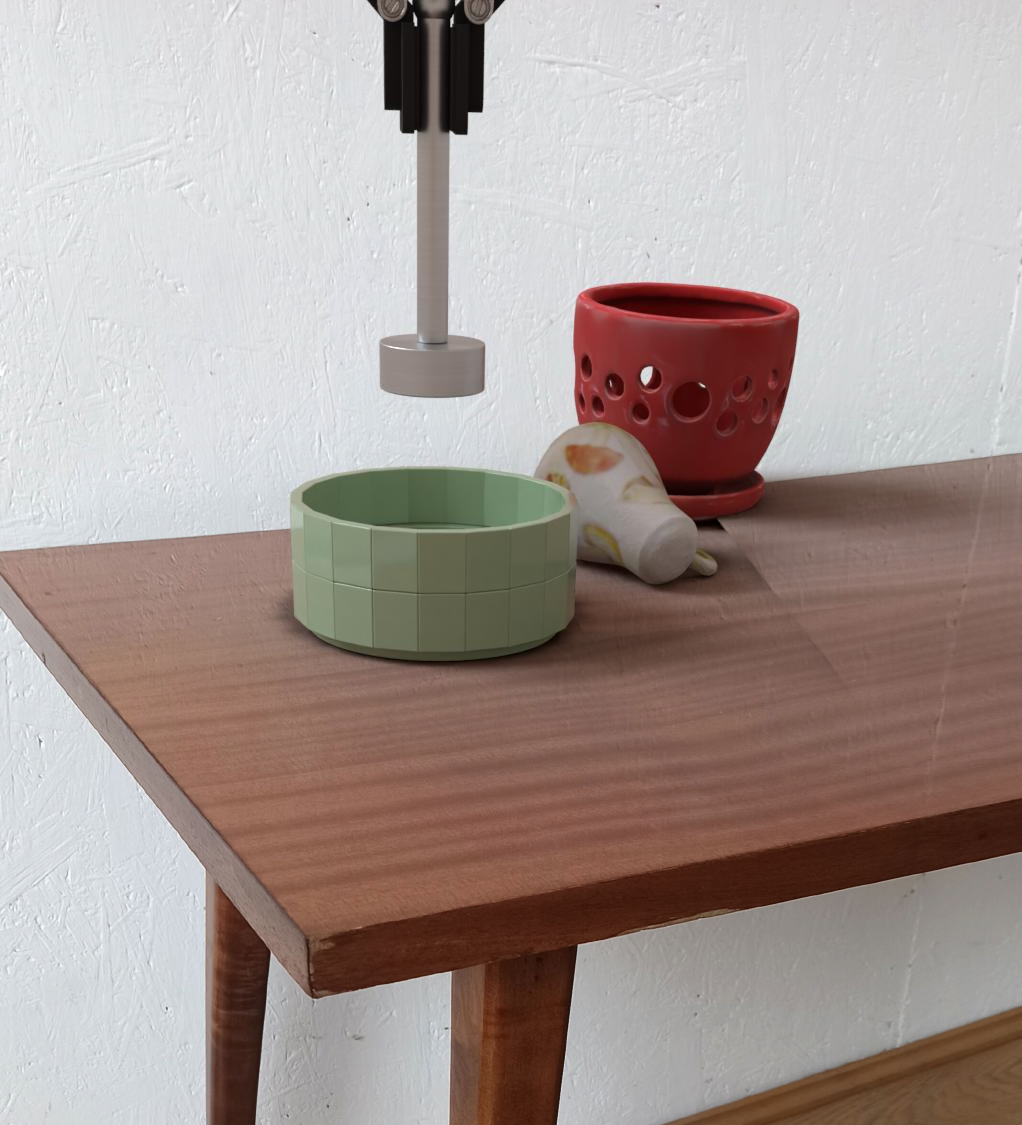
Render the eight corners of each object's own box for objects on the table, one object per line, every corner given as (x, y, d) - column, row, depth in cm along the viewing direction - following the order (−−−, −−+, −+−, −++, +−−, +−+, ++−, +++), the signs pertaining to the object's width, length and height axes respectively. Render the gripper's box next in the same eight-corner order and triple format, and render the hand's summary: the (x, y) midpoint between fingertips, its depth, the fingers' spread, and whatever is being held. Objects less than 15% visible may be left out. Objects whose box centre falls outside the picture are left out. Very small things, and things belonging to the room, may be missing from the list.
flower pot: (537, 520, 105) (544, 301, 99) (603, 476, 116) (613, 275, 109) (752, 544, 101) (773, 317, 95) (799, 496, 112) (821, 290, 106)
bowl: (555, 584, 93) (559, 466, 90) (588, 664, 82) (594, 532, 78) (296, 585, 92) (291, 465, 89) (293, 666, 80) (287, 532, 77)
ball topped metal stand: (480, 380, 83) (487, -21, 75) (488, 399, 79) (497, -23, 71) (378, 378, 83) (373, -25, 74) (381, 397, 78) (376, -27, 70)
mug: (640, 607, 90) (562, 418, 88) (563, 642, 99) (491, 471, 97) (755, 554, 93) (682, 368, 90) (670, 593, 102) (602, 425, 99)
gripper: (219, -466, 62) (246, 132, 71) (658, -441, 63) (626, 142, 73) (228, -421, 68) (252, 123, 78) (627, -399, 70) (602, 132, 79)
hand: (433, 129), depth 75 cm, fingers closed on ball topped metal stand, 1 cm apart
